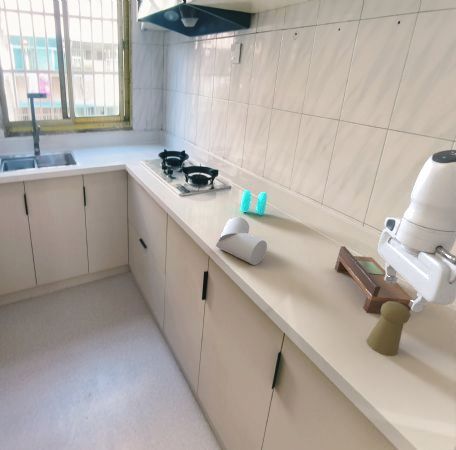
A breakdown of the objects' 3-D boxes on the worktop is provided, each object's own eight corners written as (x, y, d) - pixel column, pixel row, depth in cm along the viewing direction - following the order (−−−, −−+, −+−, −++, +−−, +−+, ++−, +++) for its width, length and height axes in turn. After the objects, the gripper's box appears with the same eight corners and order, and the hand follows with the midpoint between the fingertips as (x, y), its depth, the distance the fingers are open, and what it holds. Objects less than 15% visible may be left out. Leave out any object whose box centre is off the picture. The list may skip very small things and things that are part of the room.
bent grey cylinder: (198, 243, 117) (245, 267, 103) (205, 214, 114) (254, 234, 100) (228, 240, 129) (274, 261, 115) (236, 213, 126) (284, 232, 112)
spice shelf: (367, 271, 106) (374, 248, 103) (407, 316, 86) (418, 290, 83) (334, 268, 107) (340, 246, 104) (366, 312, 87) (375, 286, 84)
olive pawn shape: (371, 352, 74) (387, 312, 70) (363, 334, 79) (377, 295, 75) (402, 358, 73) (420, 317, 68) (391, 339, 78) (407, 299, 74)
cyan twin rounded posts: (241, 207, 154) (244, 186, 150) (264, 211, 151) (268, 189, 147) (239, 215, 146) (242, 193, 142) (263, 219, 143) (267, 196, 139)
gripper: (485, 264, 55) (451, 330, 61) (411, 217, 74) (391, 271, 79) (444, 261, 56) (414, 327, 61) (381, 215, 74) (363, 269, 80)
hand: (401, 295), depth 71 cm, fingers open, 8 cm apart
